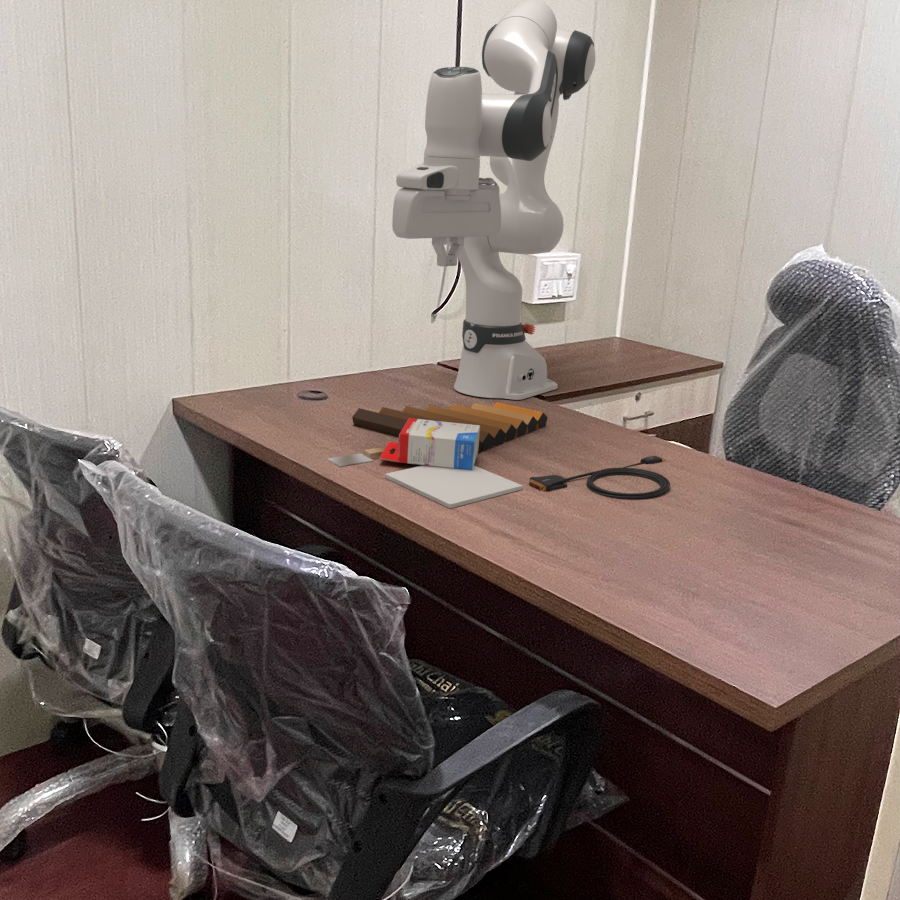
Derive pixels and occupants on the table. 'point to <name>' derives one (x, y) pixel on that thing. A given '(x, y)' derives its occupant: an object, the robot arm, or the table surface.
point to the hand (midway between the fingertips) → (447, 265)
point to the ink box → (435, 444)
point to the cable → (559, 482)
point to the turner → (359, 457)
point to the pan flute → (460, 420)
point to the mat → (453, 484)
